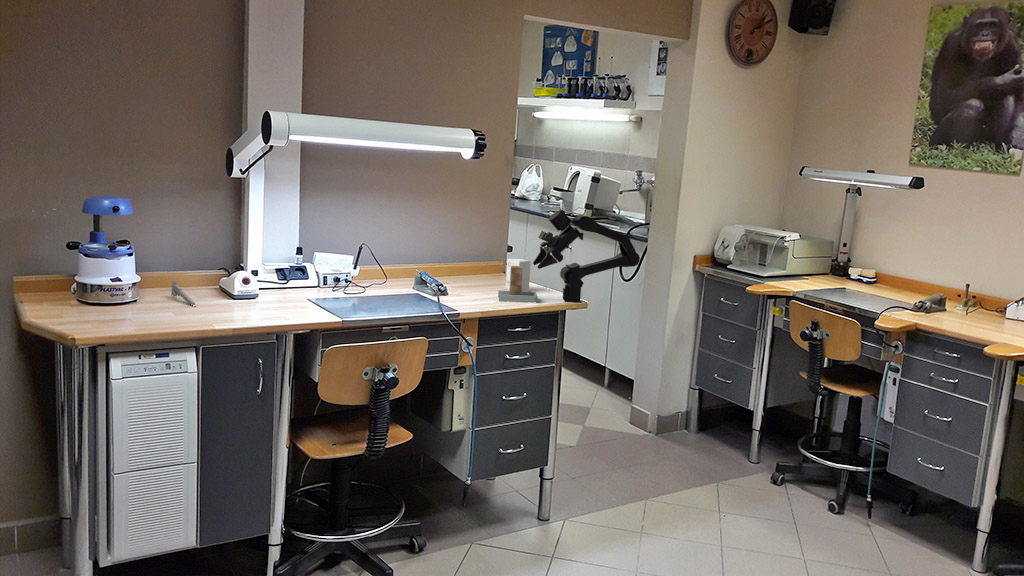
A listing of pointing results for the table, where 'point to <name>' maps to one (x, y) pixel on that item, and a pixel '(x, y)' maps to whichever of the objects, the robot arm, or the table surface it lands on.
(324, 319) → the table surface
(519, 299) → the channel
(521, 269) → the walnut block
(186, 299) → the caliper
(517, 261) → the small box
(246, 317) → the table surface
